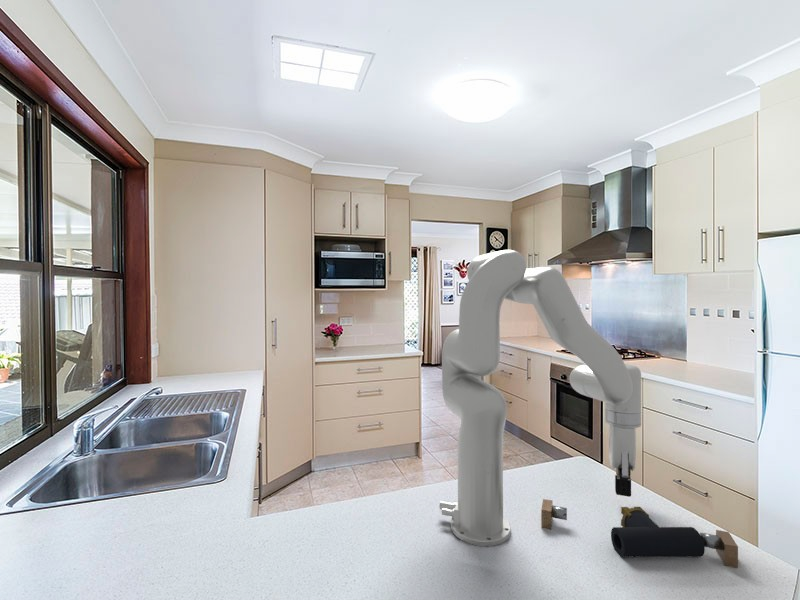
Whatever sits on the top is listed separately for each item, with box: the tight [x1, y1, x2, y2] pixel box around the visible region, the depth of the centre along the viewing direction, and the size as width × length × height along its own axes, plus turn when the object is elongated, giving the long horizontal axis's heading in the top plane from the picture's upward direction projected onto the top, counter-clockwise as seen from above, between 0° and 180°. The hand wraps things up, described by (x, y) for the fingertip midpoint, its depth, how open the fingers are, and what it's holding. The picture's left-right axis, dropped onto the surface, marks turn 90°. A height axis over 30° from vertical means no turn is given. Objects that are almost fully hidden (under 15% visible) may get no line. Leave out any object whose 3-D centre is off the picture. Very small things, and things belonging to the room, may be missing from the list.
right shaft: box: [699, 529, 739, 569], centre depth 78 cm, size 5×5×4 cm
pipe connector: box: [610, 506, 706, 558], centre depth 83 cm, size 12×5×15 cm
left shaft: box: [540, 498, 568, 531], centre depth 90 cm, size 5×5×4 cm
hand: (623, 494), depth 97 cm, fingers closed
